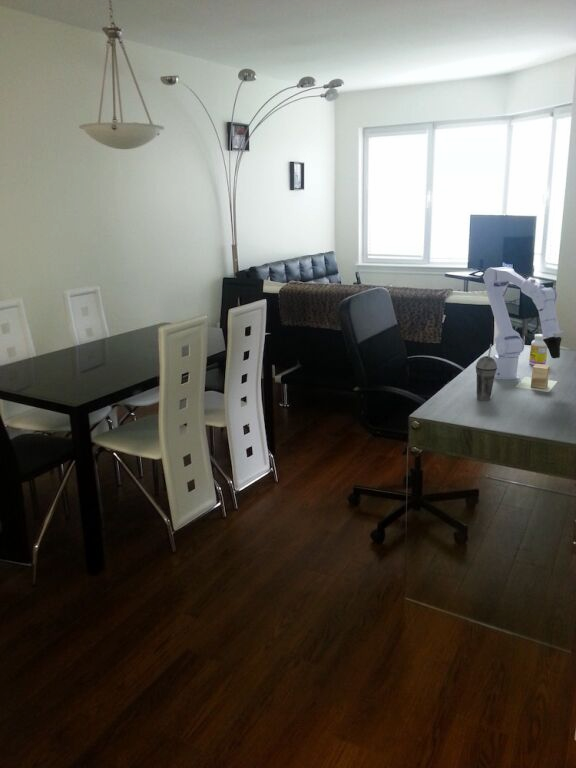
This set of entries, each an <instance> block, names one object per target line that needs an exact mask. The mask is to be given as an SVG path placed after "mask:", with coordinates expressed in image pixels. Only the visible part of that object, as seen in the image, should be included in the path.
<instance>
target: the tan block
mask: <svg viewBox="0 0 576 768" xmlns="http://www.w3.org/2000/svg"><path fill="white" fill-rule="evenodd" d="M550 368H551V367H550V364H549V365H548V364H545V365H541V364H535V365H532V371H531V377H532V379H531V387H532V388H538V389H545V388H546V387H547V386H548V380H549V377H550Z"/></svg>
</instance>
